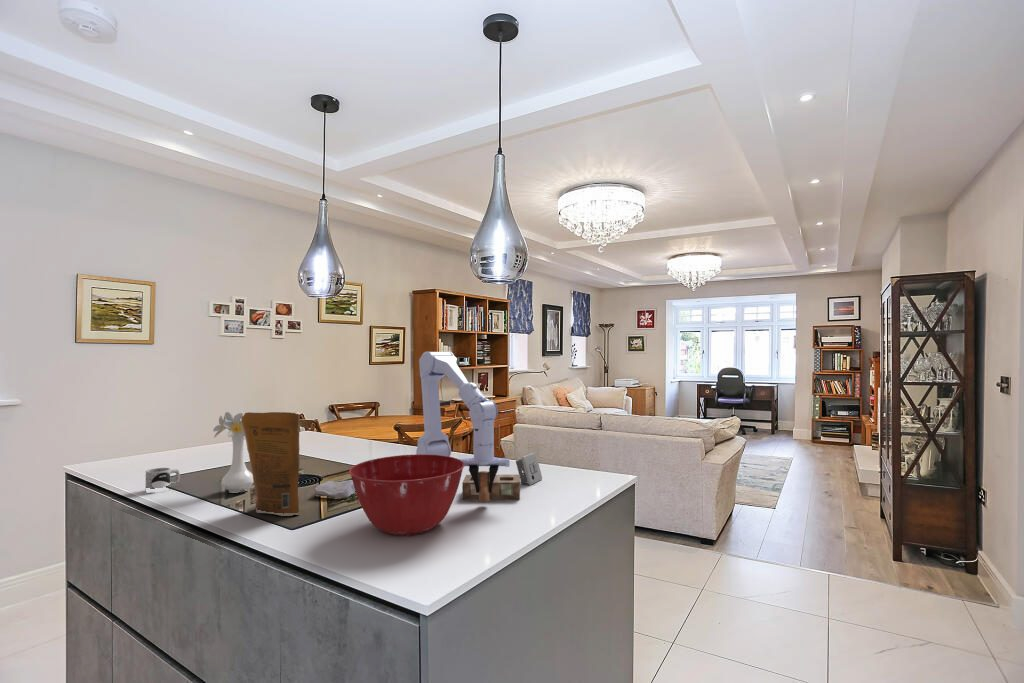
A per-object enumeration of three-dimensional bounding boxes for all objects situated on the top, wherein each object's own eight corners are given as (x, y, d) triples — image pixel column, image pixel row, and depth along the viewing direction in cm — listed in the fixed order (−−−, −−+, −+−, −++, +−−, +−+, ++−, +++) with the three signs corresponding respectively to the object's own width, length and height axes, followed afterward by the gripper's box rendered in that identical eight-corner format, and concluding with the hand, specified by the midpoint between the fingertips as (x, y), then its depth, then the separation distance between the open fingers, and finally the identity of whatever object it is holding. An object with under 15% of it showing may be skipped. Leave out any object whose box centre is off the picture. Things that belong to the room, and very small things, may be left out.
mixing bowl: (416, 556, 115) (416, 484, 115) (323, 534, 129) (323, 470, 129) (485, 519, 140) (485, 460, 140) (401, 504, 153) (401, 450, 154)
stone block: (349, 506, 159) (361, 490, 169) (347, 491, 158) (359, 476, 168) (310, 507, 160) (324, 491, 170) (308, 492, 159) (323, 477, 169)
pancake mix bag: (290, 521, 139) (290, 413, 140) (238, 512, 147) (238, 411, 147) (309, 513, 146) (309, 411, 146) (259, 506, 153) (259, 408, 154)
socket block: (462, 499, 158) (462, 482, 158) (466, 490, 168) (466, 474, 168) (519, 499, 157) (519, 482, 157) (520, 490, 168) (519, 474, 168)
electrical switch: (530, 486, 173) (527, 457, 174) (516, 485, 176) (514, 457, 176) (542, 479, 182) (540, 452, 182) (529, 479, 184) (526, 452, 185)
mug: (152, 494, 167) (152, 473, 167) (141, 491, 171) (141, 471, 171) (185, 487, 176) (185, 467, 176) (174, 484, 179) (174, 465, 179)
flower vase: (246, 499, 160) (246, 416, 161) (201, 494, 167) (201, 414, 167) (278, 488, 173) (278, 411, 173) (235, 484, 179) (235, 409, 179)
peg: (478, 502, 149) (478, 473, 150) (479, 498, 152) (479, 470, 153) (489, 502, 149) (488, 473, 149) (489, 498, 152) (489, 470, 152)
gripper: (456, 446, 147) (456, 495, 147) (508, 446, 147) (509, 495, 147) (459, 441, 154) (459, 488, 154) (509, 441, 154) (509, 488, 154)
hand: (484, 491), depth 151 cm, fingers closed on peg, 3 cm apart
